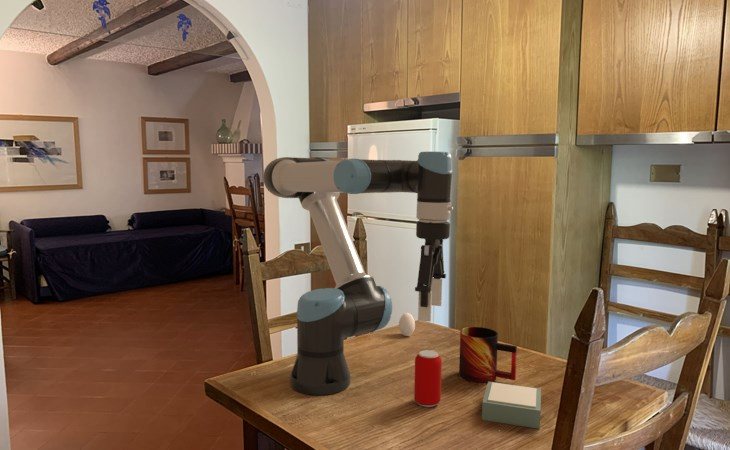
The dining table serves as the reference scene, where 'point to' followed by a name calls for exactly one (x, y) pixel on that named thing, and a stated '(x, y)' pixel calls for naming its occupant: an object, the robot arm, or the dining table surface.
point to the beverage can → (427, 378)
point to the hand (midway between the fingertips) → (430, 312)
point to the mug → (483, 356)
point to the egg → (406, 324)
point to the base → (512, 404)
